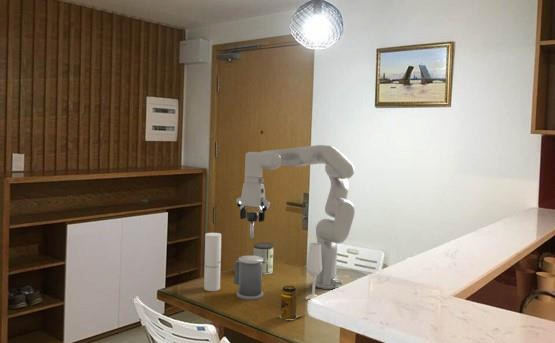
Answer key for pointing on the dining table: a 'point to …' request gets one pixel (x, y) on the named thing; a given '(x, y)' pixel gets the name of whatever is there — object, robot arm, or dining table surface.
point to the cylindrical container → (212, 261)
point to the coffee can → (265, 256)
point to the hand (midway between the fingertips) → (252, 219)
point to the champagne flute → (314, 264)
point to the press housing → (249, 277)
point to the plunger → (252, 221)
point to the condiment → (288, 302)
